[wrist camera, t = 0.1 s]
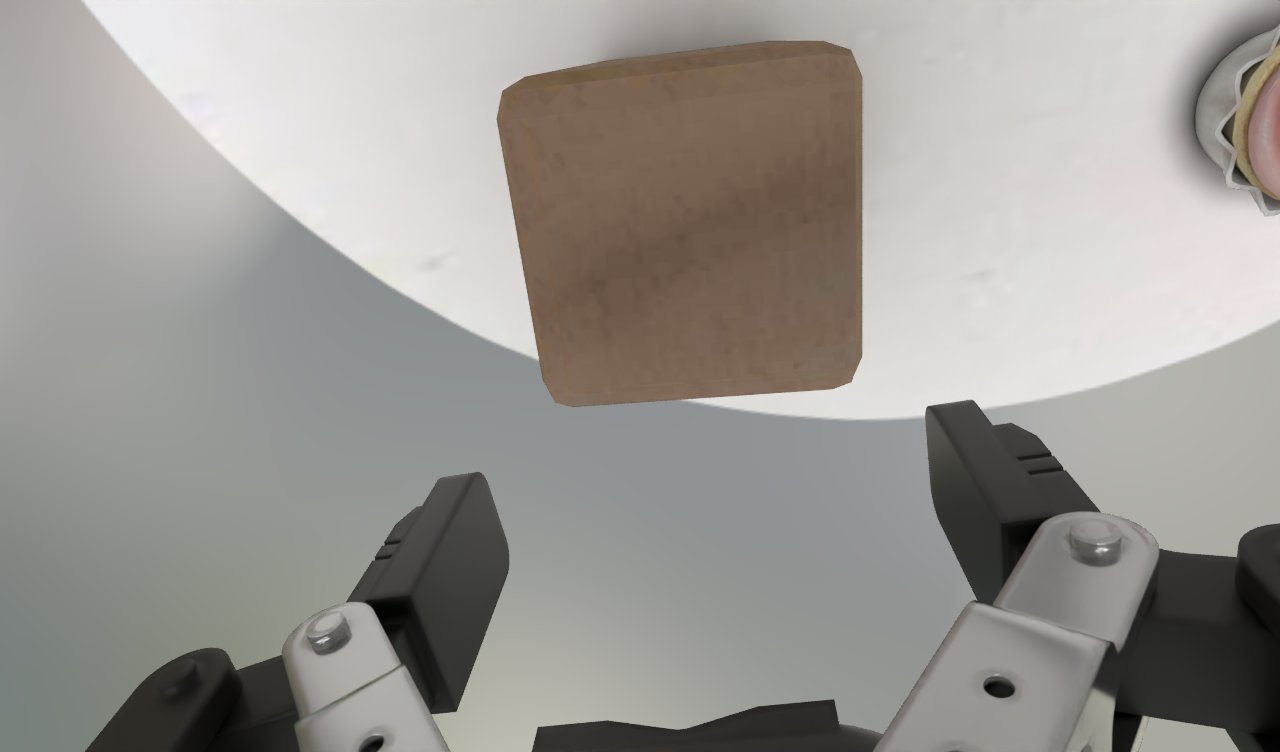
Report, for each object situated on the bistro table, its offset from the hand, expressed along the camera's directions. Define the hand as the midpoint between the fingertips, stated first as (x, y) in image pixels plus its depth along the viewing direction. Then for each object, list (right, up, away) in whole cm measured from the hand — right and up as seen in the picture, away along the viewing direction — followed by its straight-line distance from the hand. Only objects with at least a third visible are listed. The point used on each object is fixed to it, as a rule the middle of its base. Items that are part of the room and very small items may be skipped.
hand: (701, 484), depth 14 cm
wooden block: (+2, +13, +26) cm, 30 cm away
